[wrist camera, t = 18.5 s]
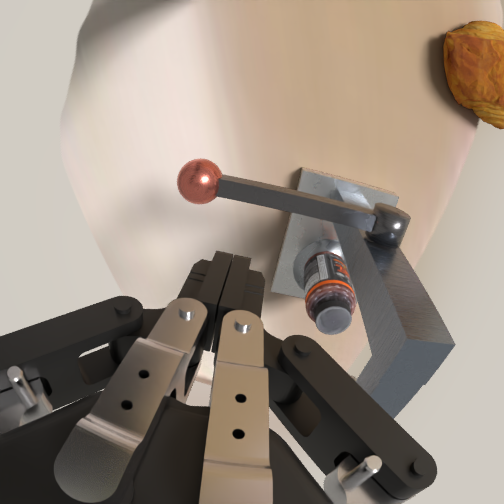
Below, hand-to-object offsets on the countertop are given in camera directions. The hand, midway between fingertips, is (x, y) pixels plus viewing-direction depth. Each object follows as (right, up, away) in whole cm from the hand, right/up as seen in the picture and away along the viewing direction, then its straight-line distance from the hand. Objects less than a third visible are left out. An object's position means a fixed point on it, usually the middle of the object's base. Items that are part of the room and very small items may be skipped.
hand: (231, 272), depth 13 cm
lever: (+5, +6, +12) cm, 14 cm away
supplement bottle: (+11, -1, +29) cm, 31 cm away
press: (+12, +3, +29) cm, 31 cm away
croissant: (+32, +26, +15) cm, 44 cm away
